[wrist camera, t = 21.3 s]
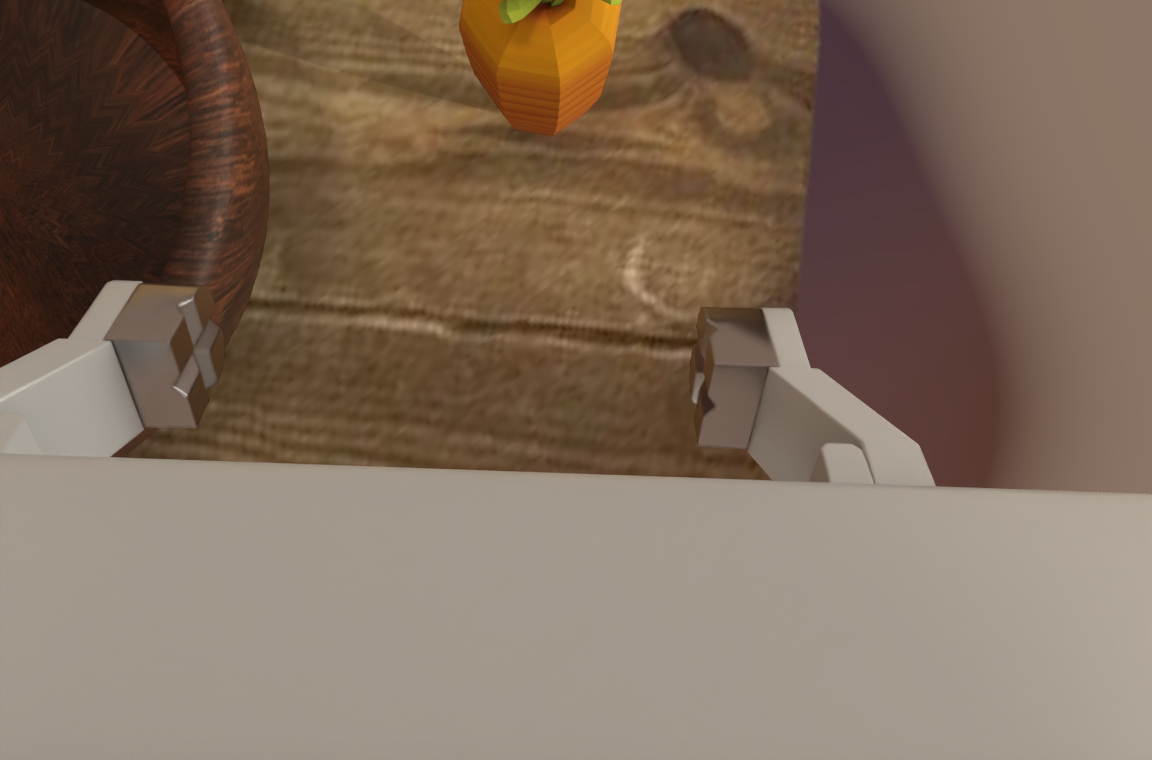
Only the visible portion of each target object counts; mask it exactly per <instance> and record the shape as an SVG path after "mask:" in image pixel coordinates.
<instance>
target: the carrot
mask: <svg viewBox="0 0 1152 760" xmlns="http://www.w3.org/2000/svg"><path fill="white" fill-rule="evenodd" d="M621 3H622V0H463V5H462V11H461V16H460V22H459V29H460V32H461V36H462V39H463V42H464V46H465V49H466V53H467V55H468V58H469V61H470V63H471V66H472V69H473V71H474V74H475V75H476V77H477V78H478V79H479V81H480V82H481V84H482V85H483V87H484V88H485V89H486V91H487V92H488V94H489V95H490V96H491V98H492V99H493V101H494V102H495V103H496V105H497V106H498V108H499V109H500V110H501V112H502V113H503V115H504V116H505V117H506V119H507V120H508V122H509V123H510V124H511V125H512V126H513V127H514V128H515V129H516V130H520V131H526V132H532V133H537V134H543V135H548V136H554V135H555V134H556V133H558V132H559V131H561V130H562V129H564V128H565V127H567V126H568V125H569V124H571V123H572V122H574V121H575V120H577V119H578V118H579V117H581V116H582V115H583V114H584V113H586V112H587V111H588V110H589V109H590V108H591V107H592V106H593V104H594V103H595V102H596V101H597V99H598V98H599V97H600V95H601V92H602V90H603V87H604V84H605V81H606V78H607V75H608V71H609V67H610V64H611V60H612V56H613V51H614V45H615V39H616V33H617V27H618V21H619V15H620V9H621Z"/></svg>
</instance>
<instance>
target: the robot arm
mask: <svg viewBox="0 0 1152 760" xmlns="http://www.w3.org/2000/svg"><path fill="white" fill-rule="evenodd" d="M214 308H215V304H214V300H213V297H212V294H211V291H210V289H209V288H207V287H206V286H205V285H195V284H179V283H163V282H147V281H145V282H141V281H126V280H113V281H110V282H107V283H106V284H105V286H104V287H103V289H102V290H101V292H100V293H99V294H98V296H97V297H96V299H95V300H94V302H93V303H92V304H91V306H90V307H89V309H88V310H87V312H86V313H85V315H84V316H83V317H82V319H81V320H80V322H79V323H78V325H77V326H76V327H75V329H74V330H73V332H72V333H71V335H70V336H69V338H68V339H56V340H54V341H52V342H51V343H49V344H47V345H45V346H43V347H41V348H39V349H37V350H35V351H33V352H31V353H29V354H27V355H25V356H23V357H21V358H19V359H17V360H15V361H13V362H11V363H9V364H7V365H5V366H3V367H1V368H0V760H1152V494H1143V493H1118V492H1088V491H1087V492H1086V491H1057V490H1056V491H1055V490H1054V491H1053V490H1026V489H1025V490H1024V489H995V488H964V487H937V486H935V483H934V481H933V478H932V476H931V473H930V471H929V468H928V466H927V464H926V461H925V459H924V456H923V454H922V451H921V449H920V447H919V445H918V444H917V443H916V442H914V441H913V440H911V439H910V438H909V437H908V436H906V435H905V434H904V433H902V432H901V431H900V430H899V429H897V428H896V427H895V426H893V425H892V424H891V423H889V422H888V421H887V420H885V419H884V418H883V417H881V416H880V415H879V414H877V413H876V412H875V411H873V410H872V409H870V407H868V406H867V405H865V404H864V403H863V402H862V401H860V400H859V399H858V398H856V397H855V396H854V395H852V394H851V393H850V392H849V391H847V390H846V389H844V388H843V387H842V386H841V385H839V384H838V383H837V382H835V381H834V380H833V379H831V378H830V377H829V376H827V375H826V374H825V373H824V372H822V371H821V370H820V369H811V368H810V365H809V362H808V358H807V355H806V352H805V349H804V346H803V343H802V340H801V336H800V333H799V330H798V327H797V324H796V321H795V318H794V314H793V311H791V310H790V309H789V308H760V309H755V308H725V307H701V308H700V311H699V314H698V319H697V324H696V328H697V335H698V341H699V342H697V343H696V344H695V345H694V346H693V347H692V353H691V360H690V371H689V389H690V397H691V401H692V402H693V403H694V404H695V405H696V408H695V414H694V424H695V431H696V437H697V443H698V447H714V448H730V449H746V450H748V451H747V452H748V453H749V454H750V455H751V456H752V458H753V459H754V460H755V461H756V462H757V463H758V464H759V465H760V467H761V468H762V469H763V470H764V471H765V472H766V473H767V475H768V476H769V477H770V478H771V479H772V480H773V481H770V480H743V479H715V478H687V477H658V476H630V475H601V474H572V473H544V472H515V471H486V470H458V469H430V468H401V467H373V466H345V465H317V464H288V463H260V462H232V461H203V460H175V459H147V458H118V457H111V456H112V455H113V454H114V453H116V452H117V451H118V450H119V449H121V448H122V447H123V446H125V445H126V444H127V443H128V442H130V441H131V440H132V439H133V438H135V437H136V436H137V435H138V434H140V433H141V432H142V431H143V430H144V428H197V426H198V424H199V421H200V419H201V417H202V415H203V413H204V411H205V409H206V406H207V404H208V402H209V398H208V394H207V391H206V389H208V388H209V387H211V386H213V385H214V384H216V383H217V382H218V380H219V378H220V375H221V373H222V371H223V365H224V358H225V345H224V338H223V334H222V330H221V327H219V326H218V325H217V324H216V323H215V322H214V321H213V320H212V319H211V318H210V316H211V314H212V312H213V310H214Z"/></svg>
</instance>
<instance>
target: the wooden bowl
mask: <svg viewBox="0 0 1152 760" xmlns="http://www.w3.org/2000/svg"><path fill="white" fill-rule="evenodd" d="M268 208H269V160H268V150H267V140H266V133H265V128H264V124H263V119H262V114H261V109H260V104H259V100H258V96H257V92H256V88H255V85H254V82H253V79H252V75H251V72H250V69H249V66H248V62H247V59H246V57H245V54H244V52H243V49H242V47H241V44H240V42H239V39H238V37H237V35H236V32H235V30H234V27H233V25H232V23H231V20H230V18H229V16H228V13H227V11H226V9H225V7H224V5H223V2H222V0H0V368H1V367H3V366H5V365H7V364H9V363H11V362H13V361H15V360H17V359H19V358H21V357H23V356H25V355H27V354H29V353H31V352H33V351H35V350H37V349H39V348H41V347H43V346H45V345H47V344H49V343H51V342H52V341H54V340H56V339H68V338H69V336H70V335H71V333H72V332H73V330H74V329H75V327H76V326H77V325H78V323H79V322H80V320H81V319H82V317H83V316H84V315H85V313H86V312H87V310H88V309H89V307H90V306H91V304H92V303H93V302H94V300H95V299H96V297H97V296H98V294H99V293H100V292H101V290H102V289H103V287H104V286H105V284H106V283H107V282H110V281H113V280H126V281H141V282H145V281H147V282H163V283H179V284H195V285H205V286H206V287H207V288H209V289H210V291H211V294H212V297H213V300H214V304H215V308H214V310H213V312H212V314H211V316H210V318H211V319H212V320H213V321H214V322H215V323H216V324H217V325H218V326H219V327H221V330H222V334H223V338H224V345H225V347H226V346H227V344H228V342H229V340H230V338H231V336H232V335H233V333H234V331H235V329H236V327H237V325H238V323H239V321H240V319H241V317H242V314H243V312H244V310H245V307H246V305H247V302H248V300H249V298H250V295H251V292H252V289H253V286H254V283H255V279H256V276H257V273H258V270H259V266H260V262H261V257H262V252H263V247H264V242H265V237H266V228H267V218H268ZM157 429H159V428H144V430H143V431H142V432H141V433H140V434H138V435H137V436H136V437H135V438H133V439H132V440H131V441H130V442H128V443H127V444H126V445H125V446H123V447H122V448H121V449H119V450H118V451H117V452H116V453H114V454H113V455H112V456H111V457H118V458H122V457H123V456H125V455H126V454H127V453H129V452H130V451H131V450H133V449H134V448H135V447H137V446H138V445H139V444H140V443H142V442H143V441H144V440H145V439H146V438H148V437H149V436H150V435H151V434H153V433H154V432H155V431H156V430H157Z"/></svg>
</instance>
